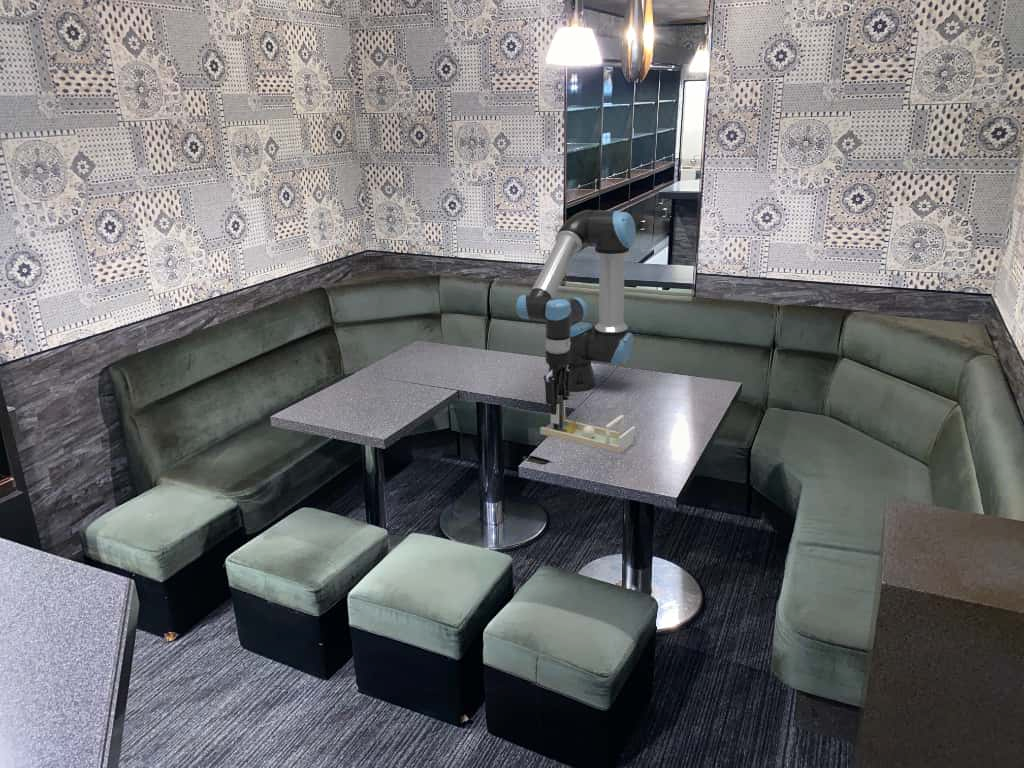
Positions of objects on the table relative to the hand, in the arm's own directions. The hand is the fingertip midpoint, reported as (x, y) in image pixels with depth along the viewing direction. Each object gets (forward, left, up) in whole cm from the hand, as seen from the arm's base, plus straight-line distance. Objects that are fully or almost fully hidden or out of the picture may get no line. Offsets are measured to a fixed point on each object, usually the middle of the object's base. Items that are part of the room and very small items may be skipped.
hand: (557, 420), depth 248 cm
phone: (+4, -14, -5) cm, 15 cm away
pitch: (+10, 0, -5) cm, 11 cm away
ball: (+11, 0, -3) cm, 11 cm away
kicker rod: (+1, 0, -3) cm, 3 cm away
